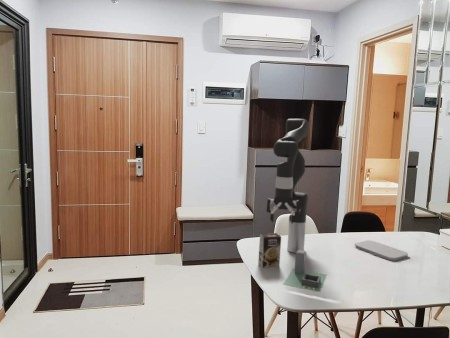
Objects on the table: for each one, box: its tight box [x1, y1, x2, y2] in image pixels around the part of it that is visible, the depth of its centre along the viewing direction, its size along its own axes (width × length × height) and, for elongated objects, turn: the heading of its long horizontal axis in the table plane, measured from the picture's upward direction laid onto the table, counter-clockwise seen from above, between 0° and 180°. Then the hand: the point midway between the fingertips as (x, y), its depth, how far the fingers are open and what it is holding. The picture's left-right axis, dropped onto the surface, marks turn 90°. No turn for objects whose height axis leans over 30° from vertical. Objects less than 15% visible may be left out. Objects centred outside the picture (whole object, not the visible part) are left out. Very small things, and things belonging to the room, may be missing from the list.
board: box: [282, 267, 328, 293], centre depth 164 cm, size 20×16×4 cm
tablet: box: [354, 240, 409, 262], centre depth 206 cm, size 16×26×2 cm, turn 32°
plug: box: [294, 250, 307, 275], centre depth 170 cm, size 4×4×10 cm
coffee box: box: [257, 232, 282, 268], centre depth 179 cm, size 9×6×16 cm
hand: (282, 222), depth 161 cm, fingers open, 8 cm apart
